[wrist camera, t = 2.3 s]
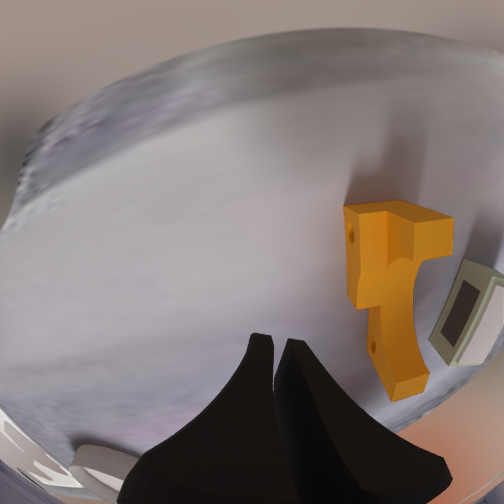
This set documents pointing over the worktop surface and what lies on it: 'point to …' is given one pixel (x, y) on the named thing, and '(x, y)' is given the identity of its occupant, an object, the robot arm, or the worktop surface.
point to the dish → (101, 470)
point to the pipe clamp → (392, 282)
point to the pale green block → (470, 316)
